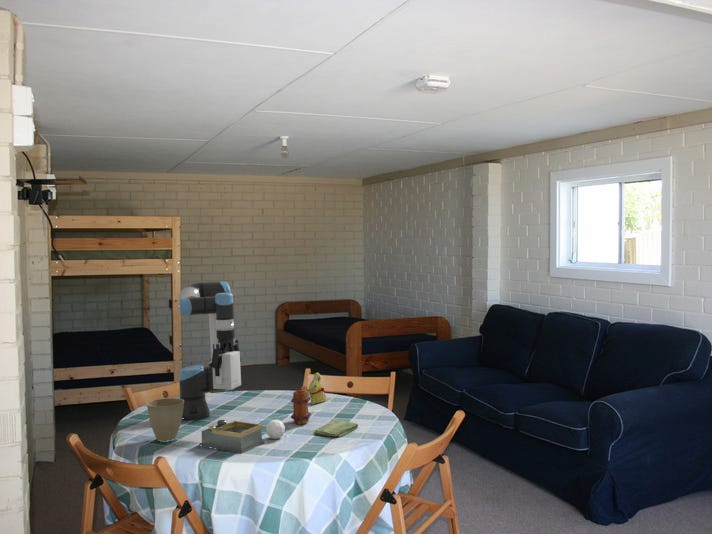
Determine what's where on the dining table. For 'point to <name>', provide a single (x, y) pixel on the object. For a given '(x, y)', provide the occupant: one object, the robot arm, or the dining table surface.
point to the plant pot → (165, 417)
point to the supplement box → (229, 371)
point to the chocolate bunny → (316, 390)
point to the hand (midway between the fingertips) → (227, 381)
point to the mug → (301, 406)
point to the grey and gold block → (233, 436)
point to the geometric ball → (275, 429)
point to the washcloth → (336, 428)
